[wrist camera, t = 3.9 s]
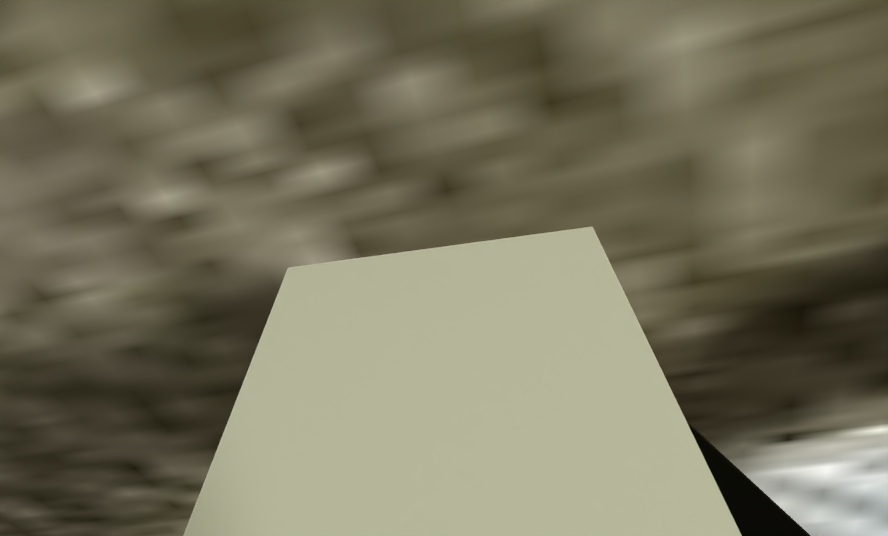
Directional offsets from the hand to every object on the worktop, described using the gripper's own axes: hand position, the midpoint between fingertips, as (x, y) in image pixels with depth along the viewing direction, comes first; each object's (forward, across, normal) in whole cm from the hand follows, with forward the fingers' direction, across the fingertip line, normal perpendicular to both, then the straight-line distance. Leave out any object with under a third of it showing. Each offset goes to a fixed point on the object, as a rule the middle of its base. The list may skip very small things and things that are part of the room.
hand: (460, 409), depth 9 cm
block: (+1, 0, 0) cm, 1 cm away
